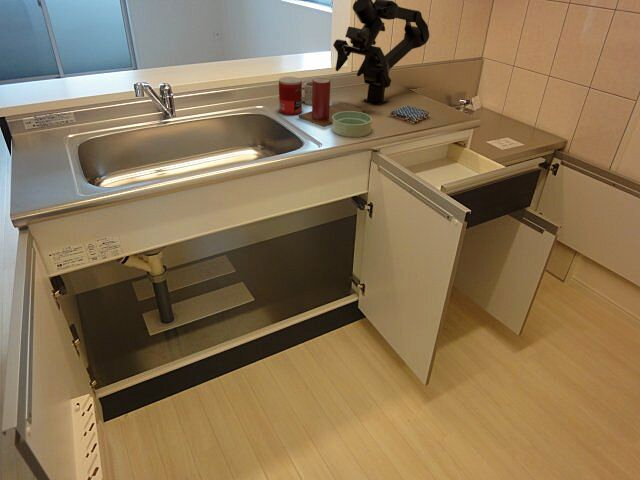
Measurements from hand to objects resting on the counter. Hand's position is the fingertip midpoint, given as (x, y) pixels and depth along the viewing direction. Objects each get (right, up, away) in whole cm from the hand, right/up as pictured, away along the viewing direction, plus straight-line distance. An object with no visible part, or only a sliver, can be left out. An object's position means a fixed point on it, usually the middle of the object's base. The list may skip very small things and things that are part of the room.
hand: (346, 73), depth 148 cm
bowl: (+1, -22, -7) cm, 23 cm away
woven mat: (+22, -14, +6) cm, 27 cm away
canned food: (-20, -11, +7) cm, 24 cm away
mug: (-13, -5, +16) cm, 22 cm away
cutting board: (-5, -14, +4) cm, 15 cm away
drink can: (-9, -15, -1) cm, 18 cm away
